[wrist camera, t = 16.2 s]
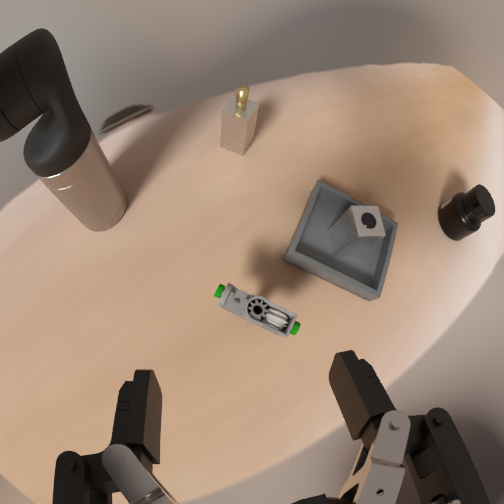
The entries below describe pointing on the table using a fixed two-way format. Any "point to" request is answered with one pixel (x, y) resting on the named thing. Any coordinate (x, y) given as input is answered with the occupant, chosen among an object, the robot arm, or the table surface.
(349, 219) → the block
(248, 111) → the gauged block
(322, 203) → the tray
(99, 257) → the table surface
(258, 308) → the mechanical component
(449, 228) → the ink bottle
